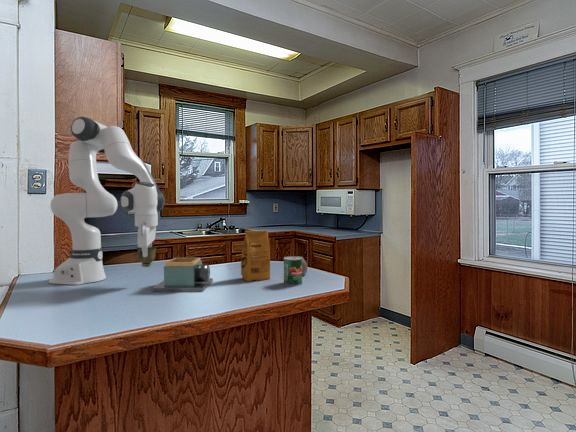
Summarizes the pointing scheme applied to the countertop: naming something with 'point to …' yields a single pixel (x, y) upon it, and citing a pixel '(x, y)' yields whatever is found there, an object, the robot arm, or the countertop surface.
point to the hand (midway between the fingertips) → (147, 254)
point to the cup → (150, 258)
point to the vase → (303, 266)
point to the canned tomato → (292, 271)
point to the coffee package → (255, 256)
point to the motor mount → (184, 276)
